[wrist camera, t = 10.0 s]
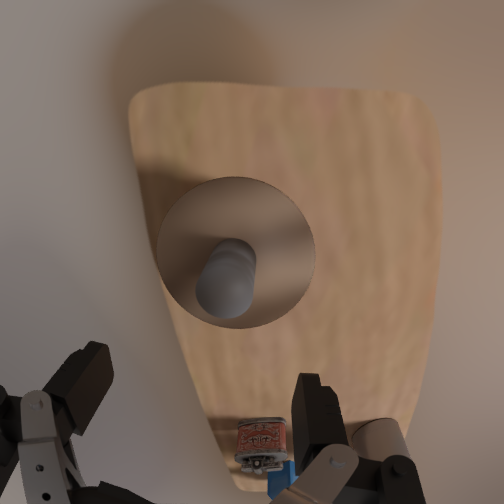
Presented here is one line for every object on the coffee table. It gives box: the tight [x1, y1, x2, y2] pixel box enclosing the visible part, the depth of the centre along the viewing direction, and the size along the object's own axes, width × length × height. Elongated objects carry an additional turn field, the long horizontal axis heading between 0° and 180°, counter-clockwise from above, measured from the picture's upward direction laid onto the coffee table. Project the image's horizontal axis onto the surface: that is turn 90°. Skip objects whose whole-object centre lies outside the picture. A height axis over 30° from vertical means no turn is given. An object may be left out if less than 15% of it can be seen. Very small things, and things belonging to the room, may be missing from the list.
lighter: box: [235, 417, 287, 474], centre depth 40 cm, size 8×3×10 cm, turn 102°
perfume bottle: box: [268, 460, 299, 500], centre depth 44 cm, size 6×6×12 cm
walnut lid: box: [156, 177, 316, 329], centre depth 22 cm, size 13×13×7 cm
